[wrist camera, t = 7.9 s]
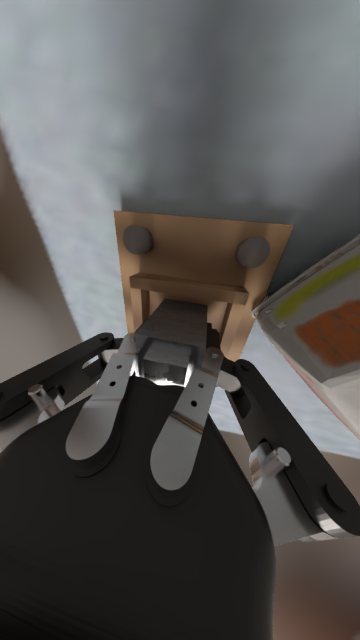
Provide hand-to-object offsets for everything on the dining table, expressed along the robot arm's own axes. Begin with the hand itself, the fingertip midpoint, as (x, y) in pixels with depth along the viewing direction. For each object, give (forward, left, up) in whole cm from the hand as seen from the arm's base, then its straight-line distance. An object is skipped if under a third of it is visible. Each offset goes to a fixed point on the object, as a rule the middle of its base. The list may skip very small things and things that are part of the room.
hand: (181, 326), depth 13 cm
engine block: (0, 0, -1) cm, 1 cm away
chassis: (0, 0, -3) cm, 3 cm away
